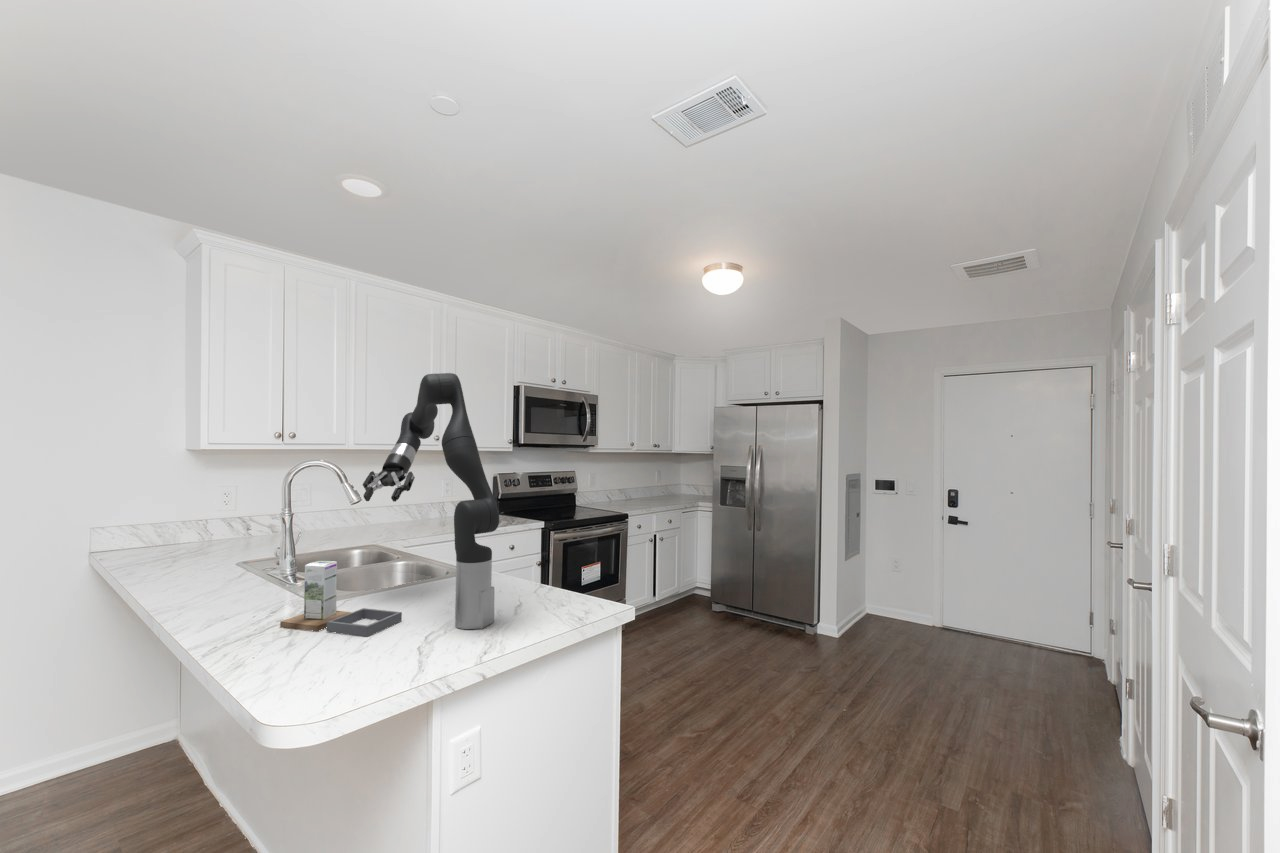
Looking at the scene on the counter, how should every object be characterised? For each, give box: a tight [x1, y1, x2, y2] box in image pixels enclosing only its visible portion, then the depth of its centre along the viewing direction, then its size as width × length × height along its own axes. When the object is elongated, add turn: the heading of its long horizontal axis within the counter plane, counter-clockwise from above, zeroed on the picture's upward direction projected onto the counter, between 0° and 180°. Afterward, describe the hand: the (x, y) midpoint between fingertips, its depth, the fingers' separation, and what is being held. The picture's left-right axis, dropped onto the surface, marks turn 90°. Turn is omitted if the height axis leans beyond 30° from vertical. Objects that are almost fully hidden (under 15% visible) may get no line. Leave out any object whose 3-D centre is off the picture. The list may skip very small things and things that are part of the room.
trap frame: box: [325, 607, 403, 638], centre depth 148 cm, size 13×13×2 cm
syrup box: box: [303, 560, 338, 620], centre depth 151 cm, size 6×6×14 cm
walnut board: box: [279, 610, 353, 632], centre depth 151 cm, size 12×12×2 cm
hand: (379, 499), depth 168 cm, fingers open, 8 cm apart
